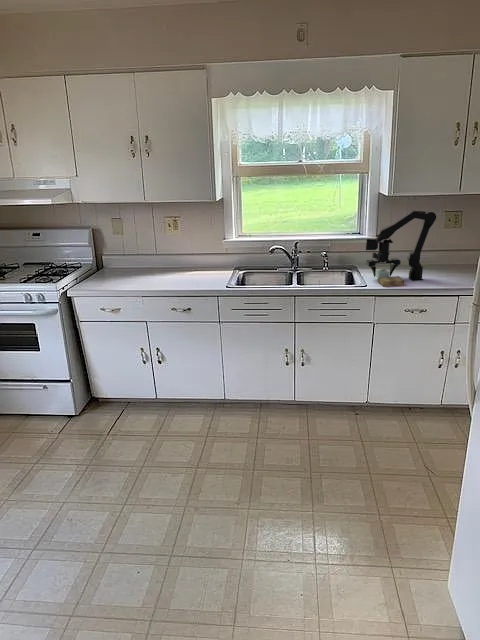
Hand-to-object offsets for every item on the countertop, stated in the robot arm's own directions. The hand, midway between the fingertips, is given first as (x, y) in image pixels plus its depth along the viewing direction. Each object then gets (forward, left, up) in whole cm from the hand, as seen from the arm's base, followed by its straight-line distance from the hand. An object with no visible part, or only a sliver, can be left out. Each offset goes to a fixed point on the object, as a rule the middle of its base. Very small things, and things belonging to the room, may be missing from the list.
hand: (382, 276), depth 281 cm
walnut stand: (-1, +12, -1) cm, 12 cm away
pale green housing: (0, 0, -1) cm, 1 cm away
